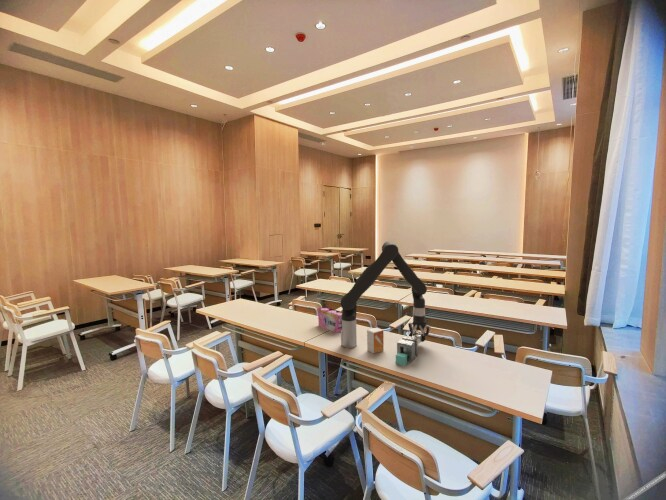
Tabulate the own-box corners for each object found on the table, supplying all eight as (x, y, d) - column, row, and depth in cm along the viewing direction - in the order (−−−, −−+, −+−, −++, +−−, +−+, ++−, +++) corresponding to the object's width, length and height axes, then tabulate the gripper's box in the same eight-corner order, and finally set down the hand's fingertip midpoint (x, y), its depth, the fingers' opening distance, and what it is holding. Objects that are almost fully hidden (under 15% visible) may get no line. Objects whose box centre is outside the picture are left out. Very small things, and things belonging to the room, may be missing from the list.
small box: (373, 353, 184) (373, 332, 183) (367, 350, 189) (366, 329, 188) (383, 350, 188) (383, 329, 187) (377, 347, 194) (376, 327, 193)
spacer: (398, 361, 174) (395, 363, 171) (398, 352, 173) (395, 355, 170) (407, 363, 171) (404, 365, 168) (407, 354, 171) (404, 357, 167)
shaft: (401, 352, 178) (401, 344, 177) (415, 339, 198) (415, 331, 197) (410, 354, 175) (410, 346, 175) (423, 340, 195) (423, 333, 194)
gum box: (345, 331, 225) (345, 312, 224) (337, 333, 220) (336, 315, 219) (326, 323, 244) (325, 306, 243) (318, 325, 239) (317, 308, 238)
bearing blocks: (397, 358, 177) (397, 342, 176) (403, 352, 185) (403, 336, 184) (411, 362, 172) (411, 345, 171) (417, 355, 180) (417, 339, 179)
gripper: (406, 313, 195) (406, 340, 196) (428, 317, 187) (428, 344, 188) (410, 311, 201) (410, 336, 202) (432, 314, 193) (432, 340, 194)
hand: (419, 340), depth 195 cm, fingers closed on shaft, 5 cm apart
